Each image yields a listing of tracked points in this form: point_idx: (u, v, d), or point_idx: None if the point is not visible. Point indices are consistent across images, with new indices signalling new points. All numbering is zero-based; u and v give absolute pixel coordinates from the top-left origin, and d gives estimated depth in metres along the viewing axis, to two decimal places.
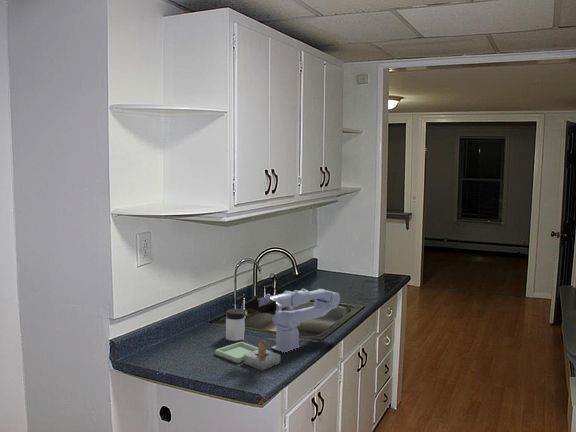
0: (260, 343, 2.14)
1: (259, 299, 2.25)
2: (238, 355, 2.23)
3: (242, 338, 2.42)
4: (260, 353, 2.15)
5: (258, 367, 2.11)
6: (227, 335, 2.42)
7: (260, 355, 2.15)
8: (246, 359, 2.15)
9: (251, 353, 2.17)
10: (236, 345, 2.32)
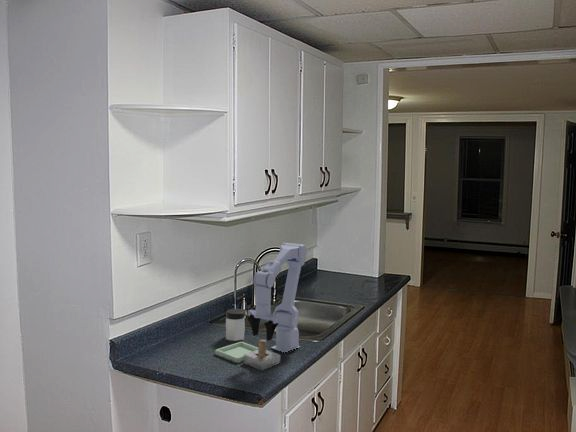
0: (260, 343, 2.14)
1: None
2: (238, 355, 2.23)
3: (242, 338, 2.42)
4: (260, 353, 2.15)
5: (258, 367, 2.11)
6: (227, 335, 2.42)
7: (260, 355, 2.15)
8: (246, 359, 2.15)
9: (251, 353, 2.17)
10: (236, 345, 2.32)
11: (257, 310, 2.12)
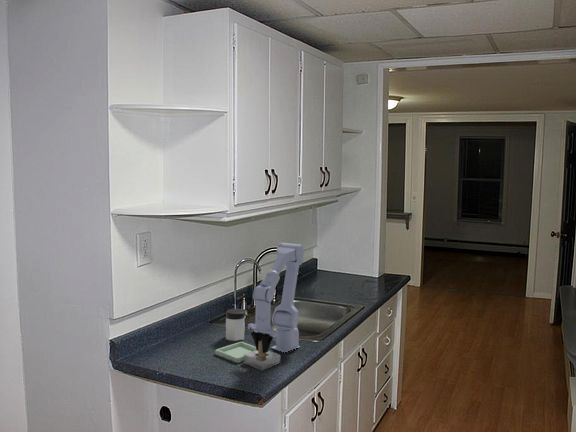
0: (260, 343, 2.14)
1: None
2: (238, 355, 2.23)
3: (242, 338, 2.42)
4: (260, 353, 2.15)
5: (258, 367, 2.11)
6: (227, 335, 2.42)
7: (260, 355, 2.15)
8: (246, 359, 2.15)
9: (251, 353, 2.17)
10: (236, 345, 2.32)
11: (257, 324, 2.13)
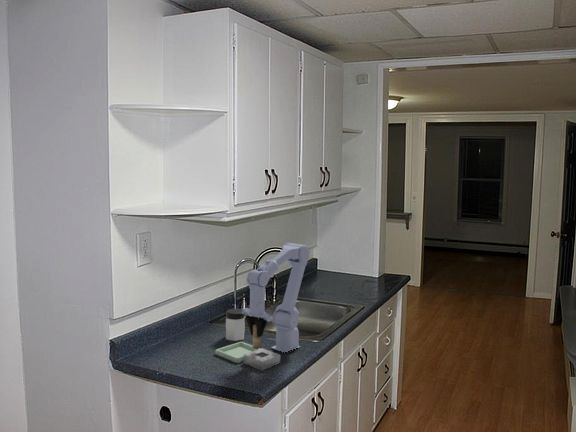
0: (255, 327, 2.16)
1: None
2: (238, 355, 2.23)
3: (242, 338, 2.42)
4: (255, 337, 2.16)
5: (258, 367, 2.11)
6: (227, 335, 2.42)
7: (255, 339, 2.16)
8: (246, 359, 2.15)
9: (251, 353, 2.17)
10: (236, 345, 2.32)
11: (251, 308, 2.14)
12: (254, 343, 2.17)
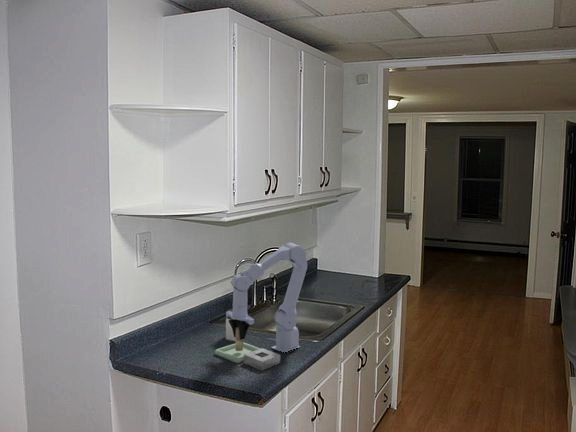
0: (237, 330, 2.23)
1: None
2: (238, 355, 2.23)
3: None
4: (237, 340, 2.23)
5: (258, 367, 2.11)
6: (227, 335, 2.42)
7: (237, 341, 2.23)
8: (246, 359, 2.15)
9: (251, 353, 2.17)
10: None
11: (234, 312, 2.21)
12: (237, 345, 2.24)
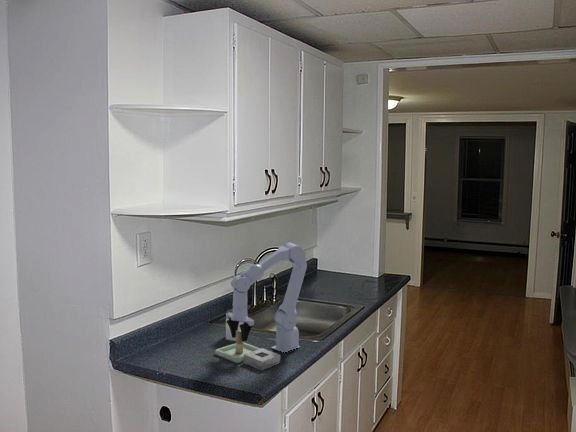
0: (237, 333, 2.23)
1: None
2: (238, 355, 2.23)
3: None
4: (237, 343, 2.23)
5: (258, 367, 2.11)
6: (227, 335, 2.42)
7: (237, 345, 2.23)
8: (246, 359, 2.15)
9: (251, 353, 2.17)
10: None
11: (234, 313, 2.21)
12: (237, 348, 2.24)
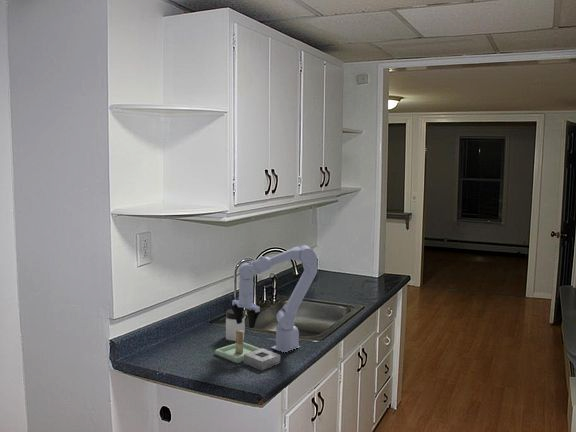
0: (237, 333, 2.23)
1: None
2: (238, 355, 2.23)
3: None
4: (237, 343, 2.23)
5: (258, 367, 2.11)
6: (227, 335, 2.42)
7: (237, 345, 2.23)
8: (246, 359, 2.15)
9: (251, 353, 2.17)
10: None
11: (240, 300, 2.26)
12: (237, 348, 2.24)
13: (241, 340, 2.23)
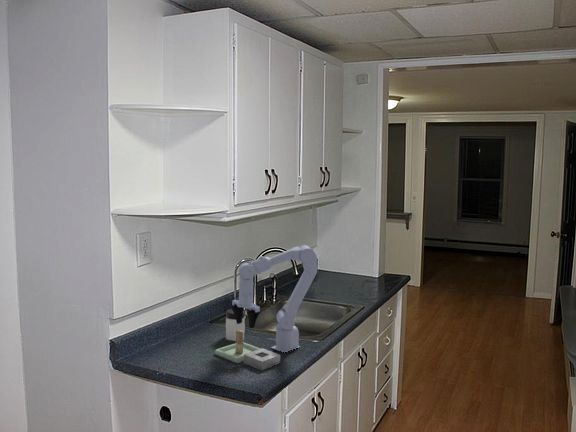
0: (237, 333, 2.23)
1: None
2: (238, 355, 2.23)
3: None
4: (237, 343, 2.23)
5: (258, 367, 2.11)
6: (227, 335, 2.42)
7: (237, 345, 2.23)
8: (246, 359, 2.15)
9: (251, 353, 2.17)
10: None
11: (240, 300, 2.26)
12: (237, 348, 2.24)
13: (241, 340, 2.23)
